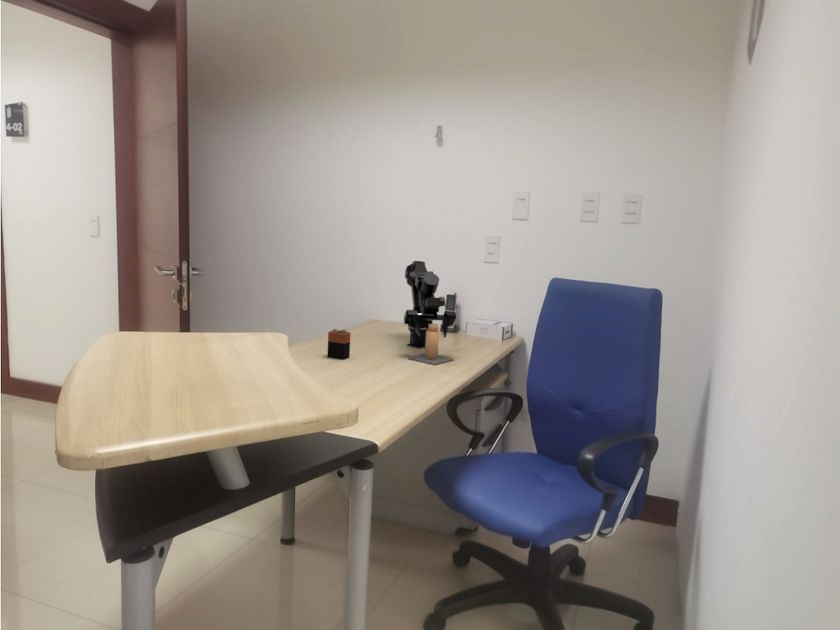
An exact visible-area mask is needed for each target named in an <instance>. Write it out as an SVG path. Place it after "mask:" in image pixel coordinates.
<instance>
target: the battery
mask: <svg viewBox="0 0 840 630" xmlns="http://www.w3.org/2000/svg"><path fill="white" fill-rule="evenodd" d="M327 333H328V334H327V335H328V338H327V353H326V354H327V357H328V358H332V359H339V360H346V359H349V358H350V354H351V352H350V351H351V332H350V331H348V330H347V329H340V330H338V329H337V328H333V329H332V330H331V331H328V332H327Z"/></svg>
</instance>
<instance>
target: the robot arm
mask: <svg viewBox="0 0 840 630" xmlns="http://www.w3.org/2000/svg"><path fill="white" fill-rule="evenodd" d="M404 279H406V284H407V285H408V286H409V287H410V288H411V296H412V297H411V298H412V305H413V308H412V309H406V311H405V313H404V316H403V323H404V325H407V330H408V331H409V332H410V334H409V335H410V337H409V343H407V345H406V346H409V347H414V348H418V349H419V348H420V349H421V348H425V346H426V331H427V330H428V326H429V324H434V323H433V322H434V321H441V323H442V325H441V326H442V334H443V338H446V337H447V332H448V329H449V328H450V327H451V326H453V325H454V323H455V322H456V320H457V313H456V311H455V310H445V311H444V313H443V314H438V313H439V312H440V308H441V307H444V306H445V305H446V300H445V299H446V298H445V296H439V297H435V294H436V292H437V289H438V286H439V282H440V277H439V276H438V275H437V274H435V273H434V271H433V270H432V271H431V270H430V271H428V269H427V267H426V262H425V261H422V260H414V261H412V262H411V264H408V265H407V266H406V268H405V272H404Z"/></svg>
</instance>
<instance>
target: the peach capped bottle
mask: <svg viewBox="0 0 840 630" xmlns="http://www.w3.org/2000/svg"><path fill="white" fill-rule="evenodd" d="M439 339H440V331H439V324H438V323H432V324H429V326H428V330H427V331H426V346H425V347H424V350H425V351H424V354H425V359H429V360H436V359H437V358H438V356H439V354H438V353H439Z"/></svg>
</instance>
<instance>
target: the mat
mask: <svg viewBox="0 0 840 630" xmlns="http://www.w3.org/2000/svg"><path fill="white" fill-rule="evenodd" d="M407 359H408V360H410V359H411V361H414V360H415V362H420V363H423V362H424V363H425V364H427V363H428V365H431V364H432V365H433V366H437V365H442V364H446V363H450V362H453V361H455V359H454V358H450V357H446V356H442V355H438V358H437V359H436V360H429V359H425V353H422V354H418V355H413V356H409V357H407ZM445 362H446V363H445Z"/></svg>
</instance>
